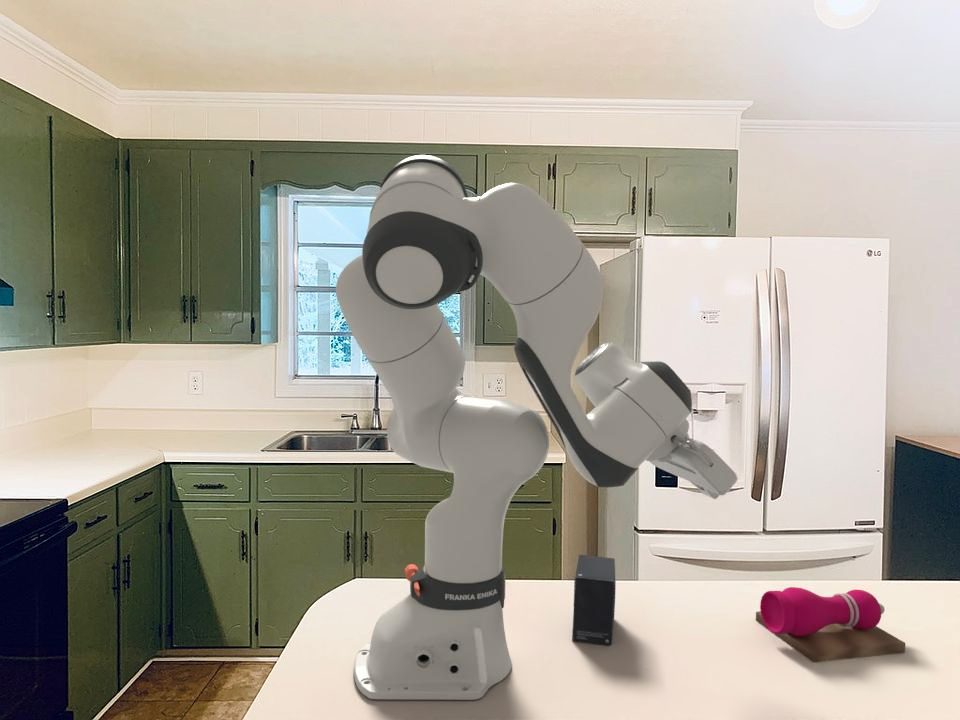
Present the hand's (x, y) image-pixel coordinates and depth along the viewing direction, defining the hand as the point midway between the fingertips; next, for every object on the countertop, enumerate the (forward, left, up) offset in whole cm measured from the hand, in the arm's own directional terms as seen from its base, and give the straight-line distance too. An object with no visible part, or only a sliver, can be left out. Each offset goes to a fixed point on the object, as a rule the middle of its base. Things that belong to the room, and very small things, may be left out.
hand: (713, 493), depth 105 cm
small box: (-16, +7, -24) cm, 30 cm away
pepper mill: (+9, -3, -18) cm, 20 cm away
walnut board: (+20, -2, -24) cm, 31 cm away
